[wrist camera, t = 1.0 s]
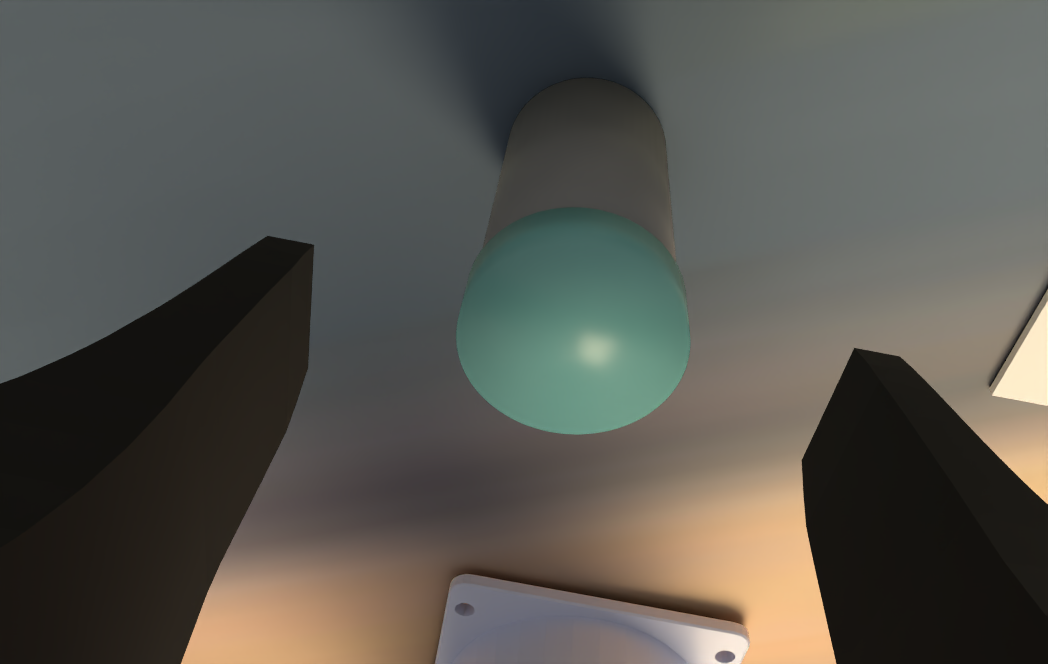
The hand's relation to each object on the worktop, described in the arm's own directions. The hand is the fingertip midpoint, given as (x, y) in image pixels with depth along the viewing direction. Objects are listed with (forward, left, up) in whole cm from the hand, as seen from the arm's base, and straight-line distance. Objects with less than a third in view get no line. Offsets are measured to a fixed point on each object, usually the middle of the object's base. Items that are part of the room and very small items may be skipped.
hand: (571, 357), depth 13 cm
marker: (0, 0, -7) cm, 7 cm away
